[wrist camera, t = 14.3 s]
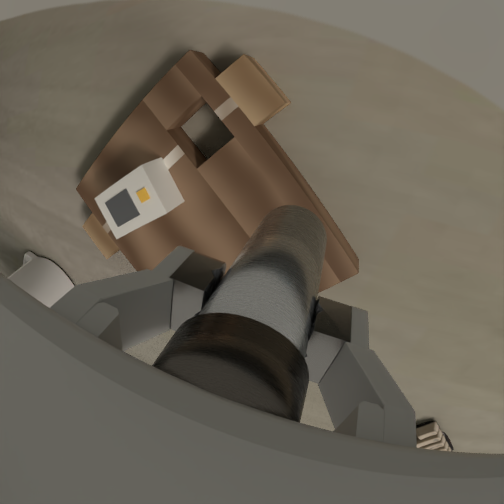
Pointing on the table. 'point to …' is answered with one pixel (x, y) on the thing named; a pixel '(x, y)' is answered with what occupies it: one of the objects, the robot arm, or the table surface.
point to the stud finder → (139, 198)
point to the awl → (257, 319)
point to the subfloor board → (209, 169)
